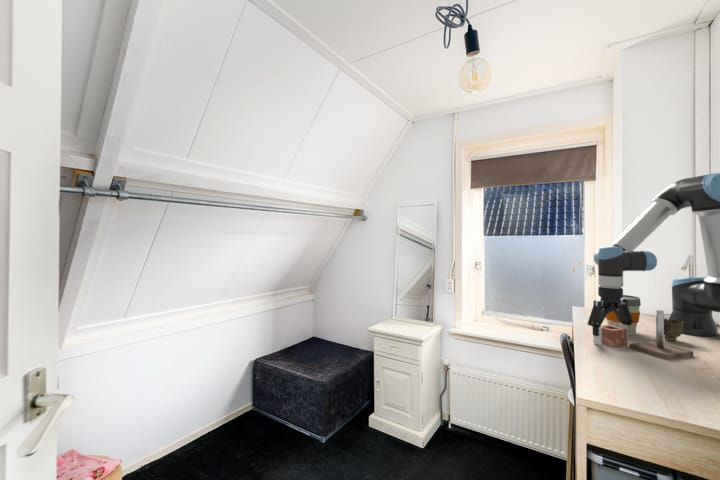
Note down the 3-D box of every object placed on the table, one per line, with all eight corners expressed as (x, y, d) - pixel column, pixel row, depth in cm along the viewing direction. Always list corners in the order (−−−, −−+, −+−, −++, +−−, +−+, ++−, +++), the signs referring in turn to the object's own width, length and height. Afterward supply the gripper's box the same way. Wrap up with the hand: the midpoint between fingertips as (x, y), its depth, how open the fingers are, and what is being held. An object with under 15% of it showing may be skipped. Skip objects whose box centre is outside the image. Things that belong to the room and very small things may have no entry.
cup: (689, 343, 122) (689, 322, 122) (666, 342, 124) (666, 322, 124) (674, 337, 129) (674, 317, 129) (653, 336, 131) (652, 317, 131)
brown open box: (608, 339, 128) (608, 324, 128) (627, 345, 122) (627, 329, 122) (594, 341, 127) (594, 325, 127) (612, 347, 120) (612, 330, 120)
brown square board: (653, 344, 122) (653, 340, 122) (693, 356, 110) (693, 351, 110) (629, 348, 119) (629, 343, 119) (667, 359, 107) (667, 355, 107)
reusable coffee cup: (601, 331, 139) (600, 297, 139) (606, 325, 147) (605, 293, 147) (639, 338, 130) (639, 300, 130) (642, 331, 138) (642, 296, 138)
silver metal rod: (658, 346, 115) (658, 309, 115) (665, 348, 114) (665, 311, 113) (654, 346, 115) (654, 310, 115) (661, 348, 113) (660, 311, 113)
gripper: (624, 283, 131) (624, 336, 131) (576, 286, 125) (576, 342, 125) (644, 286, 123) (645, 342, 124) (594, 289, 117) (595, 349, 117)
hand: (610, 342), depth 124 cm, fingers open, 12 cm apart
